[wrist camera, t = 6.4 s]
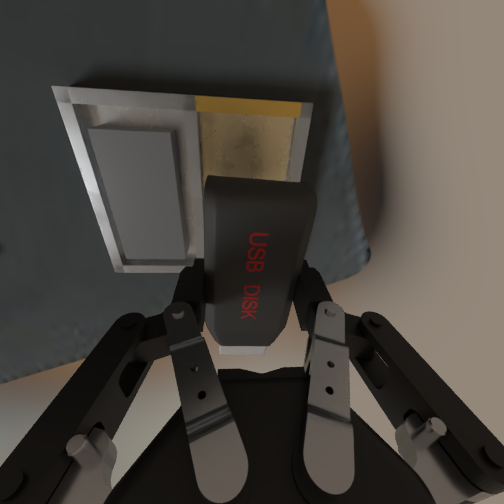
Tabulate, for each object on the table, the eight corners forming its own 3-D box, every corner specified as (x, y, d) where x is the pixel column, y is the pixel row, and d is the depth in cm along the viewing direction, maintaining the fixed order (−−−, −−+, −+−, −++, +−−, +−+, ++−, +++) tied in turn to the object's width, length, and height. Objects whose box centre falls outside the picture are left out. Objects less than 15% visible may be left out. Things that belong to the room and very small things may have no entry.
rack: (69, 86, 19) (48, 85, 16) (306, 101, 20) (314, 103, 18) (123, 260, 28) (114, 274, 26) (281, 261, 30) (284, 274, 28)
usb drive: (309, 182, 12) (326, 203, 10) (274, 331, 19) (279, 364, 17) (206, 173, 12) (200, 194, 9) (208, 330, 18) (204, 364, 16)
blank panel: (99, 125, 19) (87, 128, 18) (175, 129, 20) (170, 132, 18) (132, 248, 26) (126, 258, 24) (188, 248, 27) (185, 259, 25)
